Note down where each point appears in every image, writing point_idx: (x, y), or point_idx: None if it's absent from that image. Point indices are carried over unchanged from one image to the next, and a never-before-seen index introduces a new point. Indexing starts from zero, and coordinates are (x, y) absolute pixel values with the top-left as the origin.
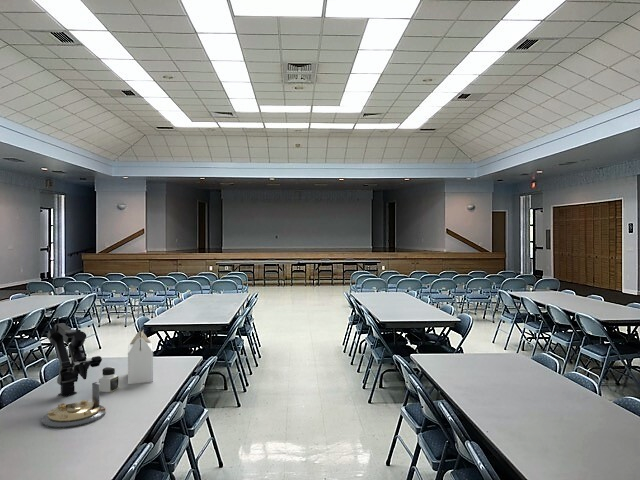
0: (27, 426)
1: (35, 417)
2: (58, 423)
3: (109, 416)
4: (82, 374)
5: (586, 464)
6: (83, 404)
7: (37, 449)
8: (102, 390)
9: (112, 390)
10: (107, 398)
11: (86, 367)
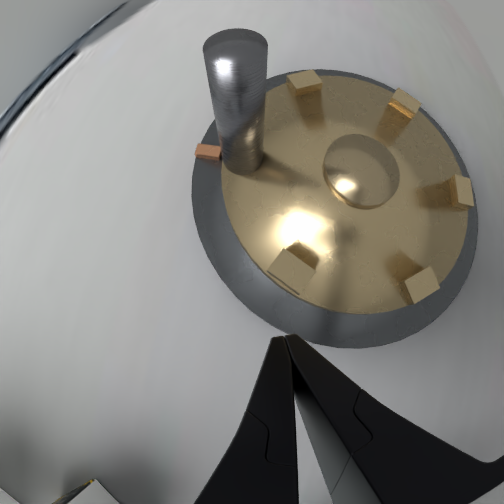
0: (500, 206)
1: (487, 301)
2: None
3: (203, 104)
4: (334, 371)
5: None
6: (300, 242)
7: (430, 32)
8: None
9: (83, 485)
10: (123, 396)
11: (255, 464)
